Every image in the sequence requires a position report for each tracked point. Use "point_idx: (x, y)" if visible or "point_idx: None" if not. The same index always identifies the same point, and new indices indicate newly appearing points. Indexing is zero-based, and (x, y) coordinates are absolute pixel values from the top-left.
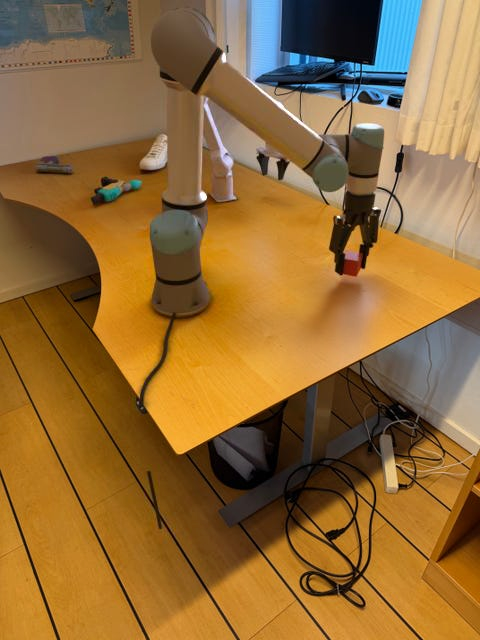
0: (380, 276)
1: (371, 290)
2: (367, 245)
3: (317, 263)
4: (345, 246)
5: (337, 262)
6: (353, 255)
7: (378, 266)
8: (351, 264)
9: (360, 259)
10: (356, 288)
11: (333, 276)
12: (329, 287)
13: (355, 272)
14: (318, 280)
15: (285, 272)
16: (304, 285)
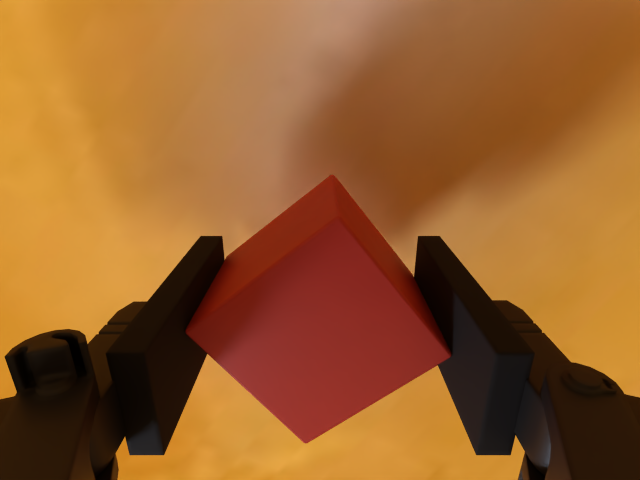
0: (103, 172)
1: (269, 41)
2: (97, 390)
3: (375, 441)
4: (570, 458)
5: (522, 314)
6: (301, 344)
7: (54, 278)
8: (376, 251)
9: (265, 263)
10: (350, 118)
11: None
12: (498, 212)
13: (342, 190)
14: None
15: None
16: (606, 297)
